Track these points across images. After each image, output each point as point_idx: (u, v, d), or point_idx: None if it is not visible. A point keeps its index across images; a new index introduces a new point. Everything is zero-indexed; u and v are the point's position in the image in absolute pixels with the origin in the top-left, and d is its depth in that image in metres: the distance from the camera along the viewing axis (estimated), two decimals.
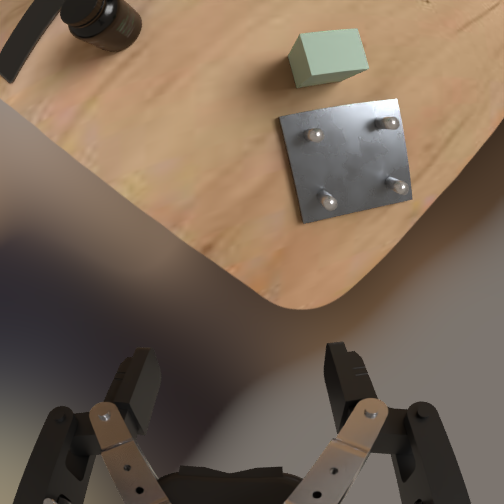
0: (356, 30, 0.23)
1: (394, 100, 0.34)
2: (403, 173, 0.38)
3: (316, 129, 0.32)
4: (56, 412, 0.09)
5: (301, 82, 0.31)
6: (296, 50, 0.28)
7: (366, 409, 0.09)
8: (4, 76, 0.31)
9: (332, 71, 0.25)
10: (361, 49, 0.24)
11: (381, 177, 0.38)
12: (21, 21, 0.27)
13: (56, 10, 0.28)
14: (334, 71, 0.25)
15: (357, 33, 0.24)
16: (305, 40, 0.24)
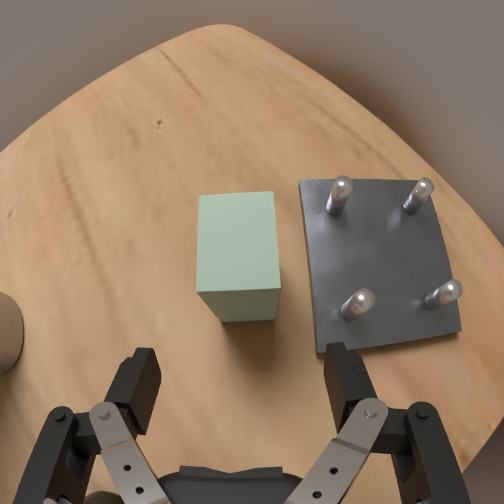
0: (202, 197, 0.19)
1: (302, 183, 0.29)
2: (397, 187, 0.29)
3: (355, 299, 0.21)
4: (56, 412, 0.09)
5: (274, 310, 0.22)
6: (221, 306, 0.20)
7: (366, 409, 0.09)
8: None
9: (276, 250, 0.17)
10: (238, 196, 0.19)
11: (405, 217, 0.28)
12: None
13: None
14: (276, 246, 0.17)
15: (208, 197, 0.19)
16: (210, 283, 0.17)
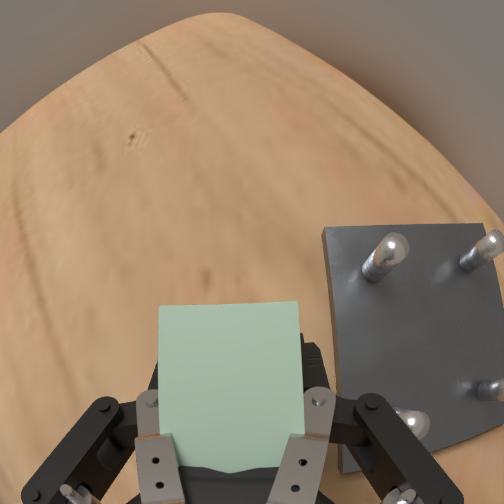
0: (164, 310, 0.10)
1: (327, 233, 0.20)
2: (452, 235, 0.20)
3: None
4: (101, 402, 0.10)
5: None
6: None
7: (313, 397, 0.10)
8: None
9: (300, 422, 0.08)
10: (230, 311, 0.10)
11: (462, 279, 0.19)
12: None
13: None
14: (301, 415, 0.08)
15: (175, 310, 0.10)
16: None
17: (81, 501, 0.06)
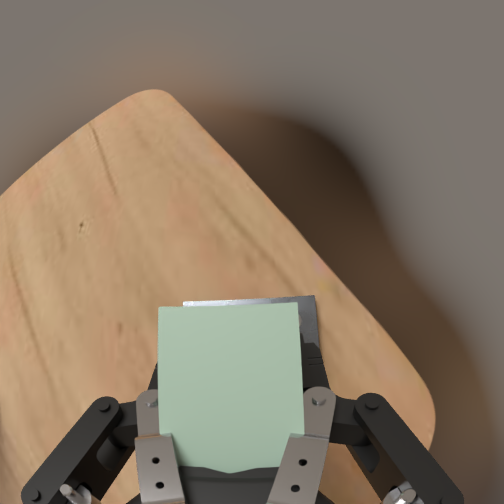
0: (164, 311, 0.10)
1: (184, 305, 0.33)
2: None
3: None
4: (101, 402, 0.10)
5: None
6: None
7: (313, 397, 0.10)
8: None
9: (300, 423, 0.08)
10: (230, 312, 0.10)
11: None
12: None
13: None
14: (301, 416, 0.08)
15: (175, 311, 0.10)
16: None
17: (81, 501, 0.06)
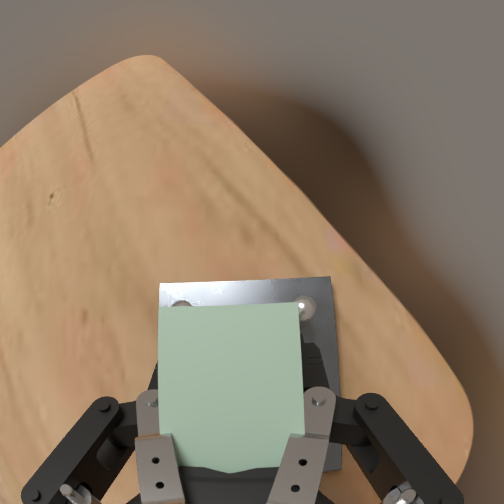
0: (164, 311, 0.10)
1: (161, 288, 0.25)
2: (284, 290, 0.25)
3: None
4: (101, 402, 0.10)
5: None
6: None
7: (313, 397, 0.10)
8: None
9: (300, 423, 0.08)
10: (230, 312, 0.10)
11: None
12: None
13: None
14: (301, 416, 0.08)
15: (175, 311, 0.10)
16: None
17: (81, 501, 0.06)
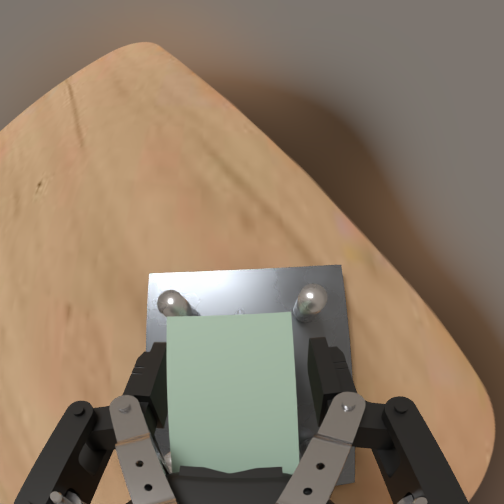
0: (172, 320, 0.11)
1: (151, 279, 0.22)
2: (289, 280, 0.22)
3: None
4: (75, 406, 0.09)
5: None
6: None
7: (343, 402, 0.10)
8: None
9: (294, 419, 0.10)
10: (231, 321, 0.11)
11: (292, 329, 0.20)
12: None
13: None
14: (295, 413, 0.10)
15: (181, 320, 0.11)
16: (191, 465, 0.09)
17: None
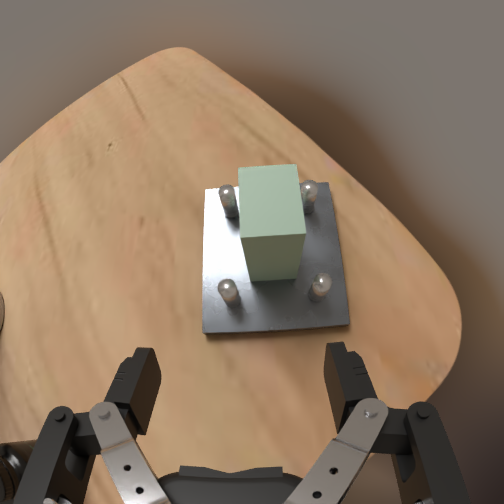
0: (240, 169, 0.24)
1: (206, 192, 0.35)
2: None
3: (218, 287, 0.26)
4: (56, 412, 0.09)
5: (297, 264, 0.27)
6: (255, 257, 0.25)
7: (366, 409, 0.09)
8: None
9: (301, 206, 0.22)
10: (269, 168, 0.23)
11: None
12: None
13: None
14: (301, 203, 0.22)
15: (245, 168, 0.24)
16: (250, 231, 0.21)
17: None
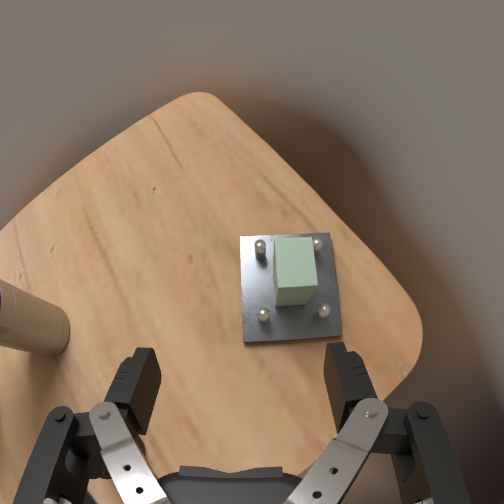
0: (276, 239, 0.37)
1: (241, 239, 0.48)
2: None
3: (258, 312, 0.40)
4: (56, 412, 0.09)
5: (309, 297, 0.40)
6: (283, 295, 0.38)
7: (366, 409, 0.09)
8: None
9: (314, 267, 0.36)
10: (294, 239, 0.37)
11: None
12: None
13: None
14: (314, 265, 0.36)
15: (279, 239, 0.37)
16: (284, 283, 0.35)
17: None
